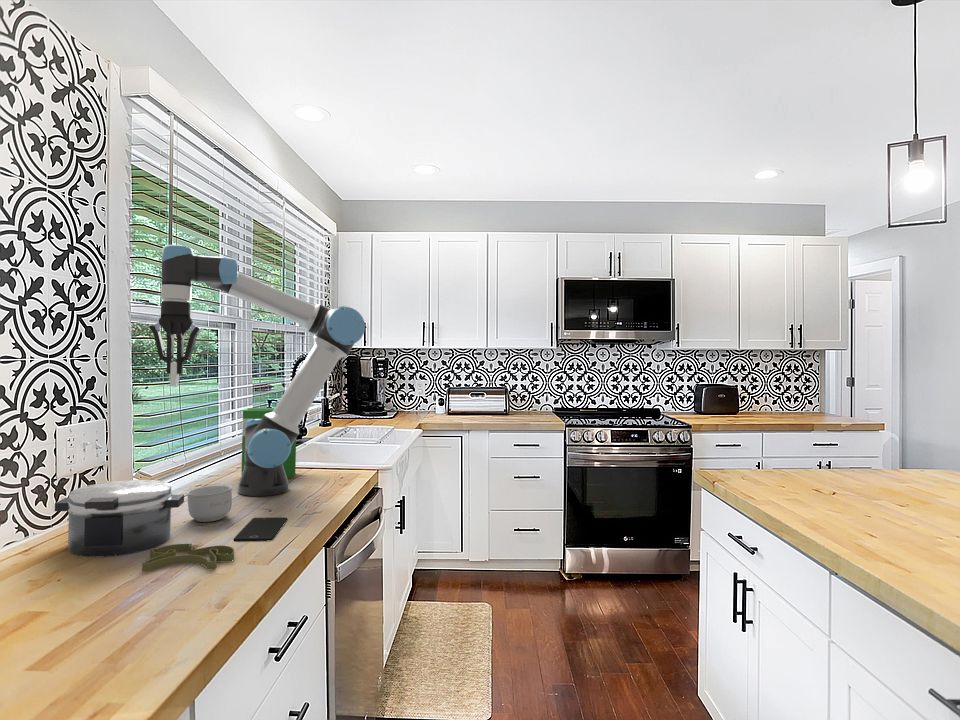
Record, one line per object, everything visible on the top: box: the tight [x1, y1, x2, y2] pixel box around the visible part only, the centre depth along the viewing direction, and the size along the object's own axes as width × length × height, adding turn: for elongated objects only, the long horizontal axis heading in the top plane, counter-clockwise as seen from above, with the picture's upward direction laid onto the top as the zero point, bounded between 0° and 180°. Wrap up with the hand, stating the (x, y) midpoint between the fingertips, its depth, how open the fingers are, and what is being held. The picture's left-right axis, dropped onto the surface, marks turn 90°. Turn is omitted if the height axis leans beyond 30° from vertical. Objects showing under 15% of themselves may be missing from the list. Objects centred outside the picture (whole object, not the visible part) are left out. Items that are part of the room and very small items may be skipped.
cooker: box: [54, 490, 185, 557], centre depth 134 cm, size 25×22×11 cm
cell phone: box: [232, 516, 288, 542], centre depth 145 cm, size 9×18×1 cm, turn 7°
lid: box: [68, 479, 172, 509], centre depth 132 cm, size 20×23×2 cm
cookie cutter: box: [141, 543, 235, 572], centre depth 123 cm, size 18×12×2 cm, turn 98°
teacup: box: [186, 483, 233, 523], centre depth 154 cm, size 14×11×8 cm
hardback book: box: [240, 407, 297, 478], centre depth 207 cm, size 18×7×24 cm, turn 106°
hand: (174, 385), depth 162 cm, fingers closed
